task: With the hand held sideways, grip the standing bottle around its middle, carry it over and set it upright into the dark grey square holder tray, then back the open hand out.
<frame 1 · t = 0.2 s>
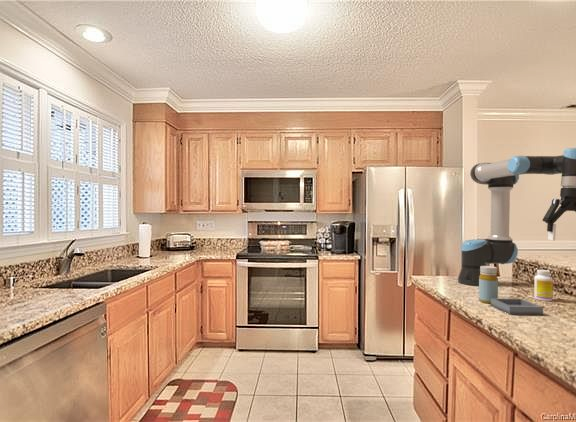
hand: (568, 240, 140), 27 cm above the worktop, tool pointing down, fingers open, 13 cm apart
supplement bottle: (543, 300, 154), on the worktop
holder: (515, 310, 138), on the worktop
bottle: (488, 302, 150), on the worktop
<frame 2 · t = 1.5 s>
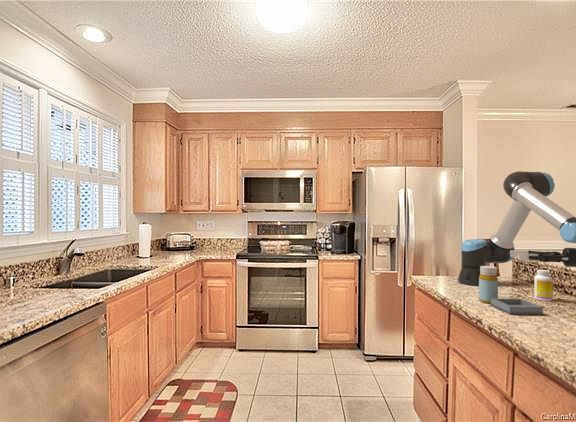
hand: (514, 255, 146), 20 cm above the worktop, tool horizontal, fingers open, 13 cm apart
nothing on the worktop moved.
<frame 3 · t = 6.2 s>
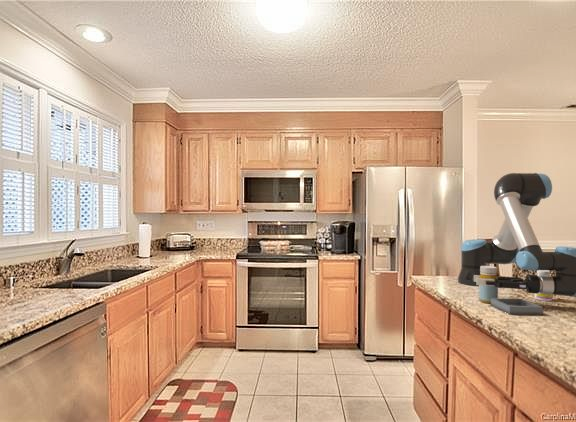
hand: (475, 280, 151), 9 cm above the worktop, tool horizontal, fingers closed on bottle, 7 cm apart
bottle: (488, 302, 150), on the worktop, touching gripper
everything else where it was.
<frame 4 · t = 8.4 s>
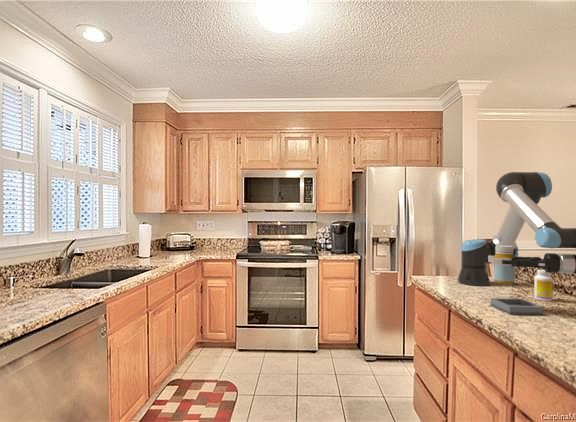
hand: (490, 260, 144), 19 cm above the worktop, tool horizontal, fingers closed on bottle, 7 cm apart
bottle: (504, 283, 142), point 10 cm above the worktop, touching gripper
everything else where it was.
when the fingers open (11 cm above the worktop, at t = 10.8 s): bottle drops 1 cm, resting on holder.
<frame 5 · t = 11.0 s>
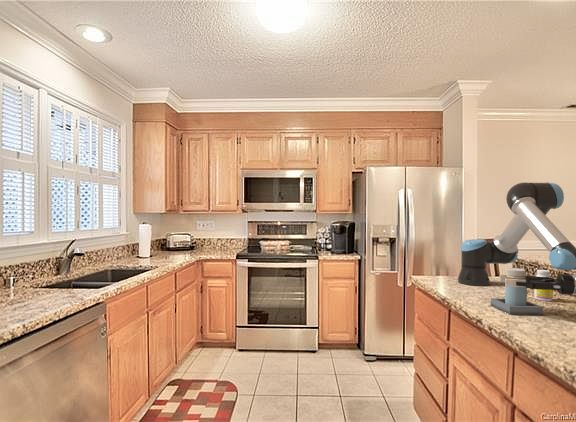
hand: (502, 280, 139), 11 cm above the worktop, tool horizontal, fingers open, 9 cm apart
bottle: (515, 307, 138), point 1 cm above the worktop, touching holder
everything else where it was.
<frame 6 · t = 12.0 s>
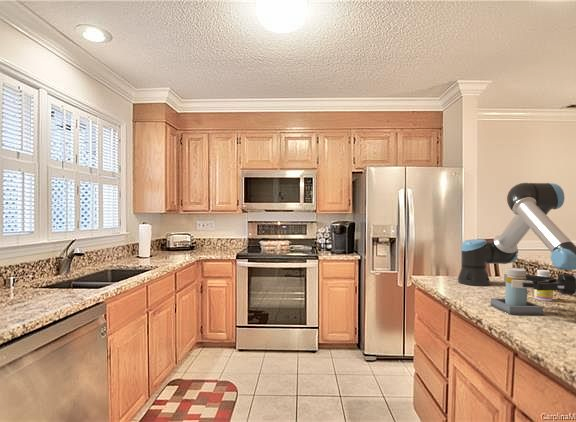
hand: (507, 280, 138), 12 cm above the worktop, tool horizontal, fingers open, 13 cm apart
nothing on the worktop moved.
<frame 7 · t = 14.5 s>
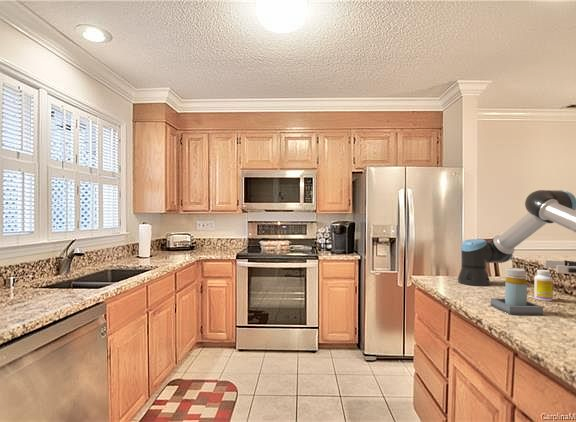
hand: (550, 266, 136), 18 cm above the worktop, tool horizontal, fingers open, 13 cm apart
nothing on the worktop moved.
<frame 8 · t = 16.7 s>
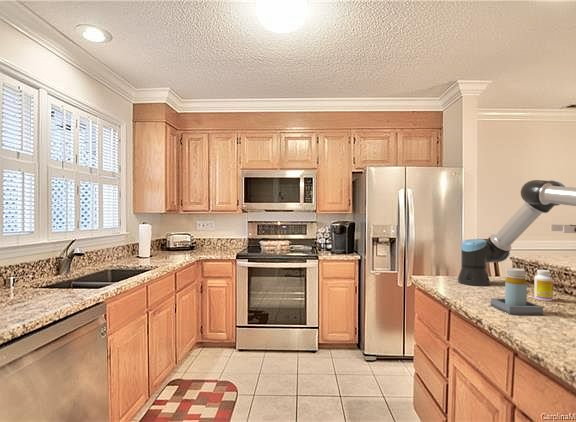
hand: (556, 228, 141), 32 cm above the worktop, tool horizontal, fingers open, 13 cm apart
nothing on the worktop moved.
at the end: bottle 0.1 cm off-centre on the holder, point 0.8 cm above the holder's base; bottle tilted 0°; the gripper is holding nothing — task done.
